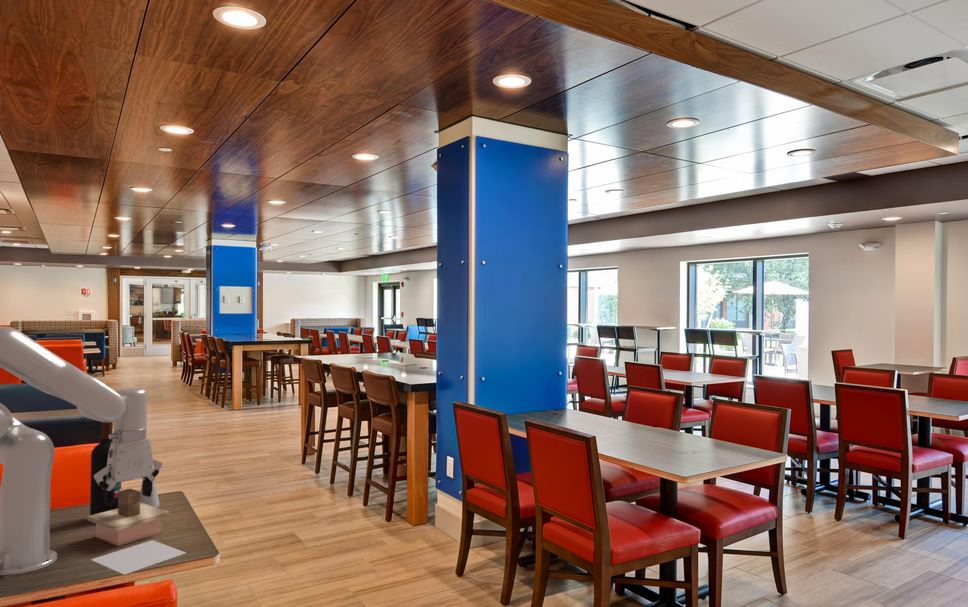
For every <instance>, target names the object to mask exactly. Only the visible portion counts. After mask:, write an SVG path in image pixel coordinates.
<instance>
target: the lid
mask: <svg viewBox="0 0 968 607" xmlns="http://www.w3.org/2000/svg"><path fill="white" fill-rule="evenodd" d="M140 491H141V490H136V489H134V488H125V489H121V491H119V492H118V509H114V510H110V511H106V512H102V513H98V514H94V515H91V516H90V515H87V516H86V517H87V518H86V521H89V522H90V523H94V524H98V525H101V526H104V527H106V528H109V529H111V530H114V531H117V530H120V529H124V528H128V527H131V526H135V525H138V524H142V523H145V522H149V521H152V520H156V519H159V518H161V519H163V518H166V517H169V516H170V514H171V513H170V511H168V510H165V509H163V508H162V509H161V508H160V507H159V508H156V507H153V506H150V505H147V504H144V503H140Z"/></svg>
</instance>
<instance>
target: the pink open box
mask: <svg viewBox="0 0 968 607" xmlns="http://www.w3.org/2000/svg"><path fill="white" fill-rule="evenodd" d="M95 524H96V523H95ZM95 529H96V531H95V532H96V534H95V537H96V538H97V539H99V540H102V541H104V542H107V543H108V544H111V545H114V546H116V547H122V546H125V545H129V544H131V543H134V542H137V541H140V540H144V539H147V538H150V537H153V536H156V535H159V534H161V533H162V518H159V519H156V520H152V521H149V522H145V523H142V524H138V525H135V526H131V527H128V528H124V529H120V530H117V531H114V530H111V529H109V528H106V527H104V526H101V525H98V524H96V528H95Z"/></svg>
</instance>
